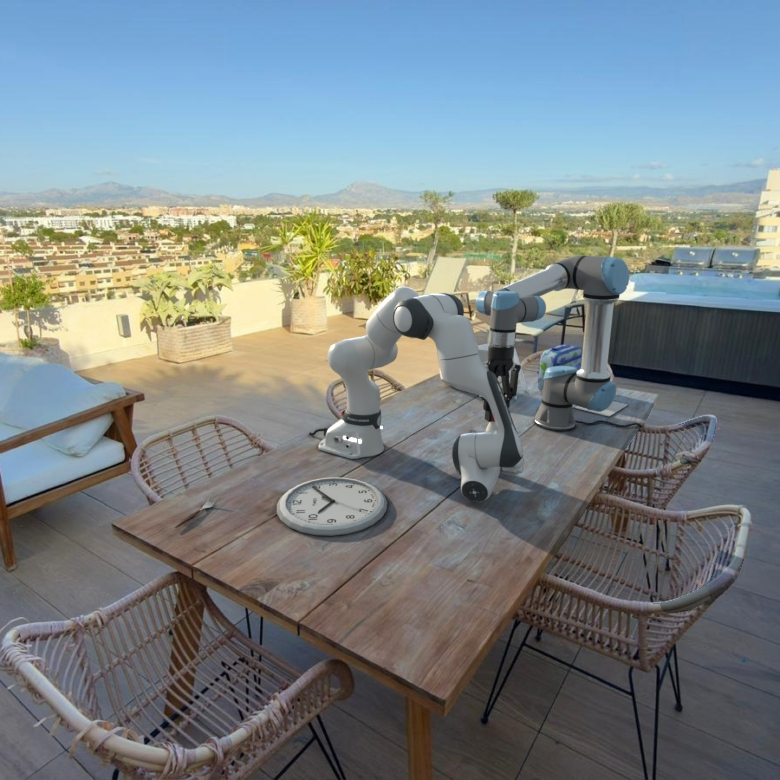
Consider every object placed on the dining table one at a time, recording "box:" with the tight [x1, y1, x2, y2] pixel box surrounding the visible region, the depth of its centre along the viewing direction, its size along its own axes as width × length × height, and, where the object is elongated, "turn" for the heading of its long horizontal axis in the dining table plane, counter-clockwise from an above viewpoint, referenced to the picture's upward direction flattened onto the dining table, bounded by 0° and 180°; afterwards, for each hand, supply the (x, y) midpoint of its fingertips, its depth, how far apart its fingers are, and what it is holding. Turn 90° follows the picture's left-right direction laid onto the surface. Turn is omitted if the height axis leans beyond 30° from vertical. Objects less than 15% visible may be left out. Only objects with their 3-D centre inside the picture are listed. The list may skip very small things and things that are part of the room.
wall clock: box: [276, 476, 388, 537], centre depth 142 cm, size 30×2×30 cm
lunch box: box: [537, 344, 583, 391], centre depth 246 cm, size 26×11×21 cm, turn 134°
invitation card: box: [573, 400, 629, 418], centre depth 226 cm, size 21×1×15 cm
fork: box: [174, 492, 220, 529], centre depth 137 cm, size 3×16×2 cm, turn 160°
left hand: (493, 449), depth 164 cm, fingers closed on bottle, 5 cm apart
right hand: (495, 419), depth 160 cm, fingers closed on cap, 4 cm apart
